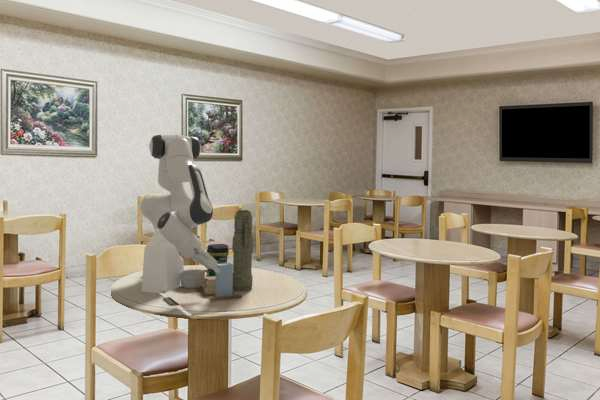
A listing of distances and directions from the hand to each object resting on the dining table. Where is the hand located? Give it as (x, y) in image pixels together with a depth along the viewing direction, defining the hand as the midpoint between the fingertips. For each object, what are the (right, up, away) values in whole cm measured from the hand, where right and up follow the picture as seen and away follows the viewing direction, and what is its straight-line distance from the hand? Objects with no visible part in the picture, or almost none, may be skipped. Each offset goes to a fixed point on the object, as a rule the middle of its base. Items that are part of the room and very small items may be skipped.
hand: (214, 269), depth 211 cm
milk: (-25, -11, +16) cm, 32 cm away
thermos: (+9, -12, +17) cm, 22 cm away
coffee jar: (-3, -11, +28) cm, 30 cm away
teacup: (-11, -11, +19) cm, 25 cm away
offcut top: (-1, -7, +10) cm, 12 cm away
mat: (-14, -12, -2) cm, 18 cm away
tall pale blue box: (+3, -11, +3) cm, 12 cm away
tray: (+1, -12, +6) cm, 13 cm away
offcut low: (-1, -10, +10) cm, 14 cm away
